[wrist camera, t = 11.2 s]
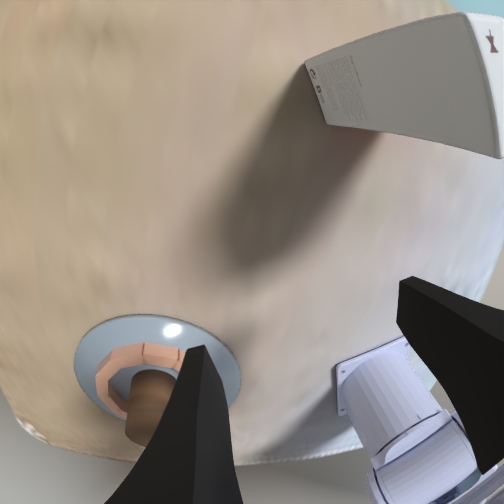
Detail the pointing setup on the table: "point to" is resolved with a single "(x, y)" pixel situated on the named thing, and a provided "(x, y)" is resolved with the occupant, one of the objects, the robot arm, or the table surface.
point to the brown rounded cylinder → (147, 403)
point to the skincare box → (420, 82)
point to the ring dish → (143, 357)
